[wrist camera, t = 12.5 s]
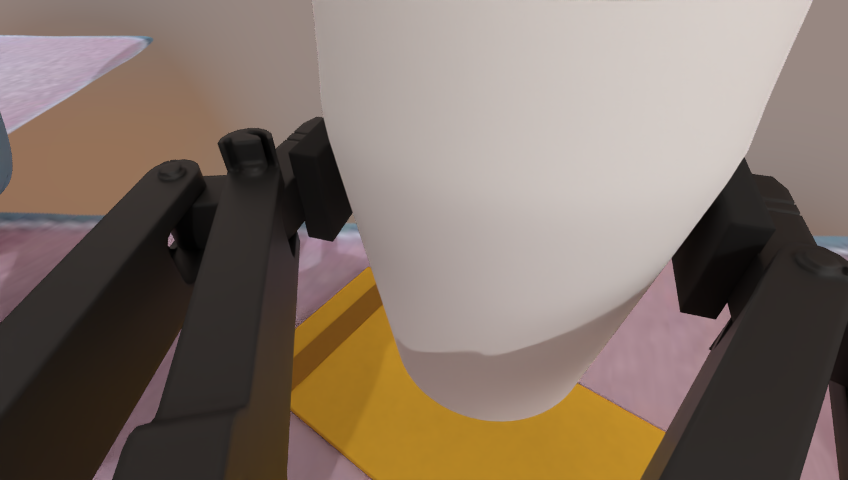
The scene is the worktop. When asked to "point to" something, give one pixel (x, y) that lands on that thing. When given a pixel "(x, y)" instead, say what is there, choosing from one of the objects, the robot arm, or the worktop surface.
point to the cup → (534, 168)
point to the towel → (443, 411)
